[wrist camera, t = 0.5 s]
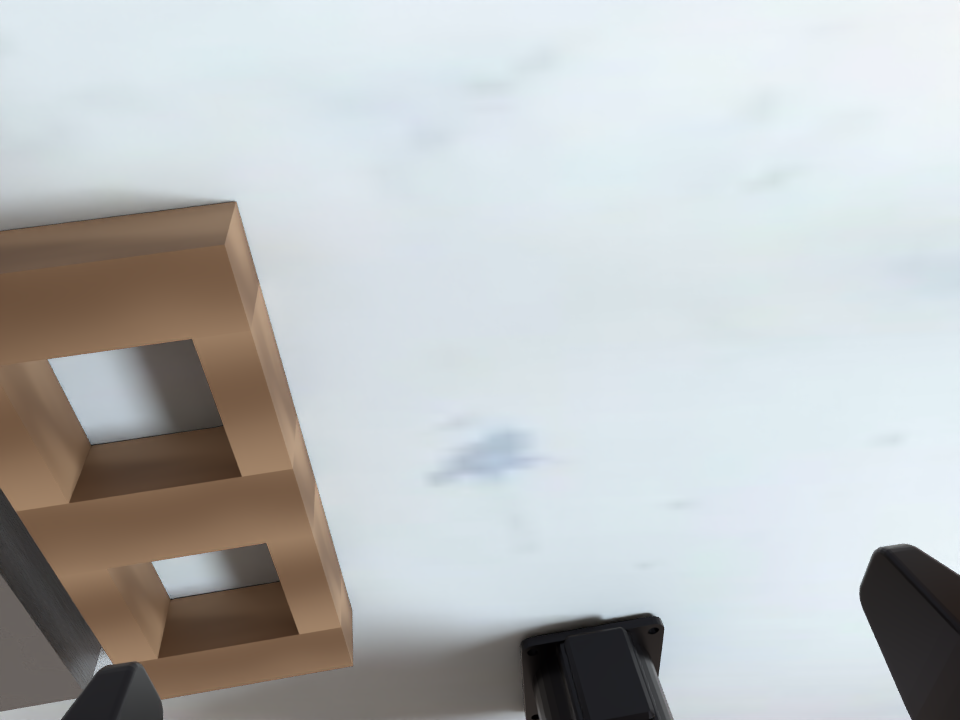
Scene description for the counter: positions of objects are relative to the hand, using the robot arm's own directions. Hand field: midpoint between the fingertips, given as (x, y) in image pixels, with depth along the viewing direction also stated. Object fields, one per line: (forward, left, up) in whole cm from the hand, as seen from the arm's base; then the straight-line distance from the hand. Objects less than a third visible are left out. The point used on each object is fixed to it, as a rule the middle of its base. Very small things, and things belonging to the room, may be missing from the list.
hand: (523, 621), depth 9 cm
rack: (-9, +9, -14) cm, 19 cm away
